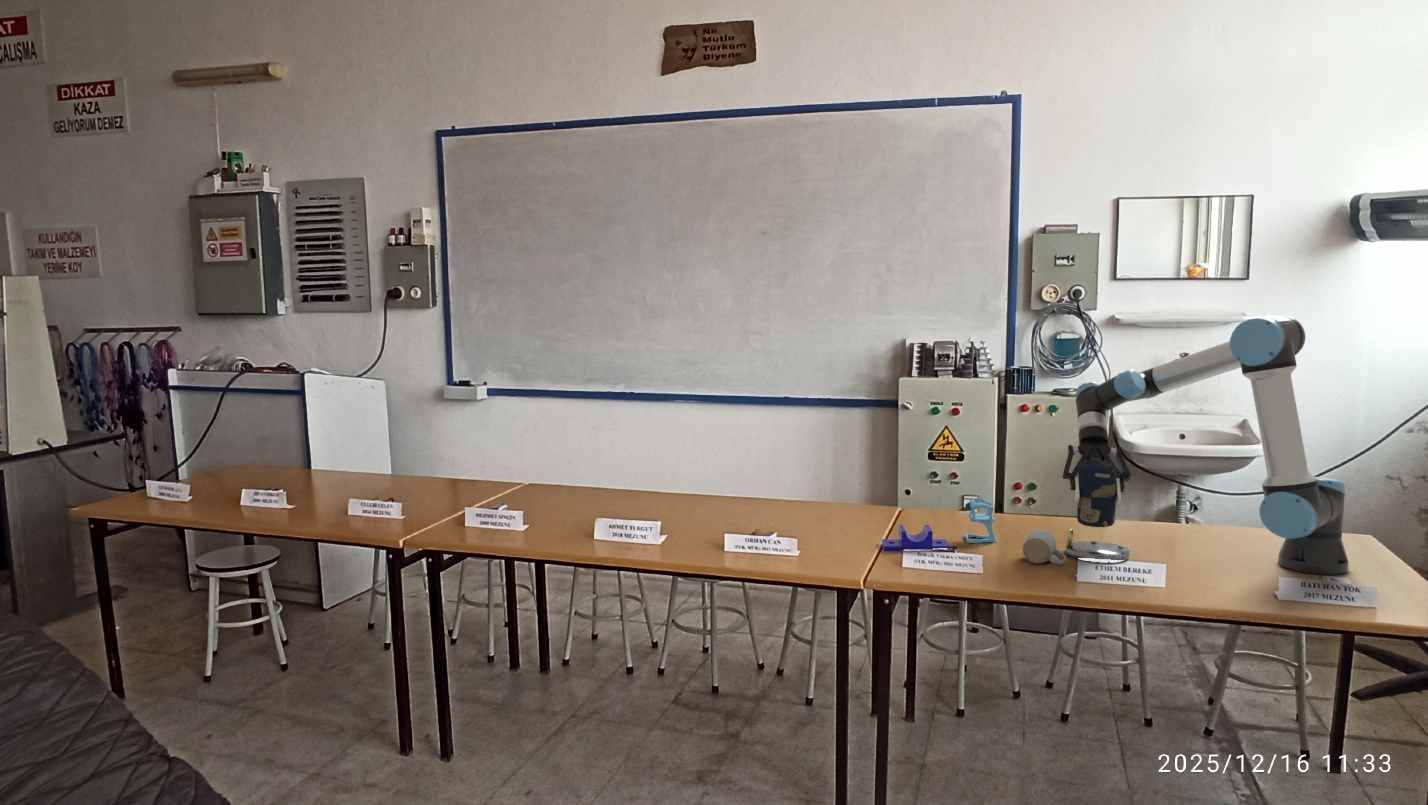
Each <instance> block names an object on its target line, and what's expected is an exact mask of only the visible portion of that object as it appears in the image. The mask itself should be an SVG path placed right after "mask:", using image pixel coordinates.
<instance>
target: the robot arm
mask: <svg viewBox="0 0 1428 805" xmlns="http://www.w3.org/2000/svg"><path fill="white" fill-rule="evenodd" d="M1229 338H1230V339H1229V341H1225V342H1223V343H1220V344H1216V345H1214V346H1210V347H1208V348H1205V349H1202V350H1200V351H1197V352H1195V353H1191V354H1189V355H1185V356H1183V357H1180V358H1178V359H1174V360H1171V361H1169V362H1166V363H1163V364H1160V365H1158V366H1154V367H1151V368H1149V369H1145V370H1143V371H1141V372H1140V371H1139V372H1138V371H1135V370H1134V369H1127V370H1126V371H1125V370H1124V371H1123V372H1119V373H1118V374H1117V375H1115V376H1113V377H1111V378H1110V379H1108V380H1106V381H1104V382H1102V383H1098V382H1096V381H1095V382H1094V381H1089V382H1087V383H1086V382H1084V383H1081V384H1080V385H1079V386H1078V387H1077V389H1076V391H1075V404H1076V405H1075V406H1076V413H1077V431H1078V446H1074V445H1072V444H1068V446H1067V458H1066V462H1065V465H1064V468H1063V473H1062V479H1063V480H1069V483H1070V484H1069V487H1070V488H1069V489H1070V491H1074V497H1075V498H1074V500H1075V503H1077V504H1078V503H1079V498H1080V495H1079V480H1078V471H1079V464H1080V463H1081V462H1083V461H1091V460H1093V459H1098V460H1100V461H1106V462H1111V463H1113V464H1115V463H1114V461H1113V460H1112V459H1111V458H1110V455H1109V454H1110V453H1111V454H1112V455H1113V457H1115V461H1116V463H1117V465H1118V466H1117V479H1116V486H1117V487H1116V505H1121V502H1122V493H1124V492H1125V482H1129V481H1130V479H1131V475H1132V474H1131V472H1130V470H1129V468H1128V465H1127V463H1126V461H1125V460H1126V459H1124V456H1123V453H1122V447H1121V446H1119V445H1118V446H1117V447H1111V446H1110V444H1109V436H1108V435H1109V434H1108V425H1107V424H1108V423H1107V411H1110V410H1112V409H1115V408H1116V407H1118V406H1120V405H1123V404H1125V403H1128V402H1129V403H1130V402H1133V401H1138V400H1144V399H1152V398H1155V397H1156V396H1158V395H1161V394H1163V393H1167V392H1170V391H1172V390H1175V389H1178V388H1182V387H1184V386H1189V385H1191V384H1194V383H1196V382H1200V381H1203V380H1207V379H1209V378H1212V377H1216V376H1218V375H1222V374H1225V373H1227V372H1232V371H1233V370H1237V369H1240V368H1241V373H1242V376H1244V377H1246V379H1248V380H1249V381H1250V384H1251V389H1252V396H1253V401H1254V406H1255V412H1256V418H1257V423H1258V429H1259V434H1260V439H1261V446H1262V451H1263V457H1264V462H1265V468H1266V474H1267V476H1266V478H1265V479H1264V480H1263V482H1261V485H1262V492H1263V497H1264V499H1262V501H1261V503H1260V506H1259V510H1258V511H1259V517H1260V520H1261V523H1262V525H1263V526H1264V527H1265V528H1266V529H1267V530H1268V531H1270V532H1271V533H1272V534H1273V535H1275V536H1278V537H1280V538H1284V541H1283V543H1282V546H1281V548H1280V550H1279V551H1278V557H1277V563H1278V564H1279V566H1281V567H1283V568H1285V569H1289V570H1292V571H1295V572H1299V573H1300V572H1301V573H1305V574H1314V575H1325V576H1326V575H1328V576H1331V575H1332V576H1333V575H1342V574H1343V575H1344V574H1346V573H1348V572H1349V567H1350V566H1349V563H1350V562H1349V559H1348V557H1347V552H1346V549H1345V546H1344V543H1343V525H1344V523H1343V522H1344V508H1345V496H1346V490H1345V489H1346V488H1345V487H1346V486H1345V483H1344V482H1343V480H1340V479H1335V478H1329V477H1322V476H1314V475H1313V474H1312V473H1310V472H1309V469H1308V463H1307V459H1306V458H1307V457H1306V452H1305V446H1304V442H1303V436H1302V435H1303V434H1302V431H1301V430H1302V428H1301V424H1300V419H1299V412H1298V408H1297V402H1296V396H1295V391H1294V385H1293V379H1292V374H1293V372H1294V371H1295V370H1296V369H1297V361H1296V355H1298V354H1299V353H1300V352H1301V351H1302V349H1303V348H1304V345H1305V342H1306V332H1305V329H1304V327H1303V324H1301V322H1299V321H1298V320H1297V319H1296V318H1293V317H1291V316H1289V315H1286V314H1272V315H1271V314H1270V315H1257V316H1254V317H1250V318H1247V319H1244V320H1243V321H1242V322H1240V323H1239V324H1238V325H1237V326H1236V327H1235V328H1234V329H1233V331H1232V332H1231V335H1230V337H1229ZM1077 452H1078V453H1079V454H1080V456H1081V457H1080V459H1079V460H1078V462H1077V463H1076V465H1075V467H1074V468H1073V470H1072V471H1071V472H1070V469H1071V466H1072V463H1073V458H1074V456H1075V455H1076V454H1077ZM1118 467H1119V468H1118Z"/></svg>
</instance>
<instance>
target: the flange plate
mask: <svg viewBox="0 0 1428 805" xmlns="http://www.w3.org/2000/svg"><path fill="white" fill-rule="evenodd" d="M1130 554H1131V552H1130V550H1129V549H1128V548H1126V547H1124V546H1121V545H1119V544H1114V543H1110V542H1104V541H1095V540H1092V541H1090V540H1089V541H1086V540H1084V541H1074V529H1072V528H1067V529H1066V544H1065V556H1068V557H1069V558H1071V559H1073V560H1077V559H1078V558H1095V559H1111V560H1127V559H1128V558H1129V557H1130V558H1131V555H1130ZM1130 558H1129V559H1130ZM1127 561H1128V560H1127Z"/></svg>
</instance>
